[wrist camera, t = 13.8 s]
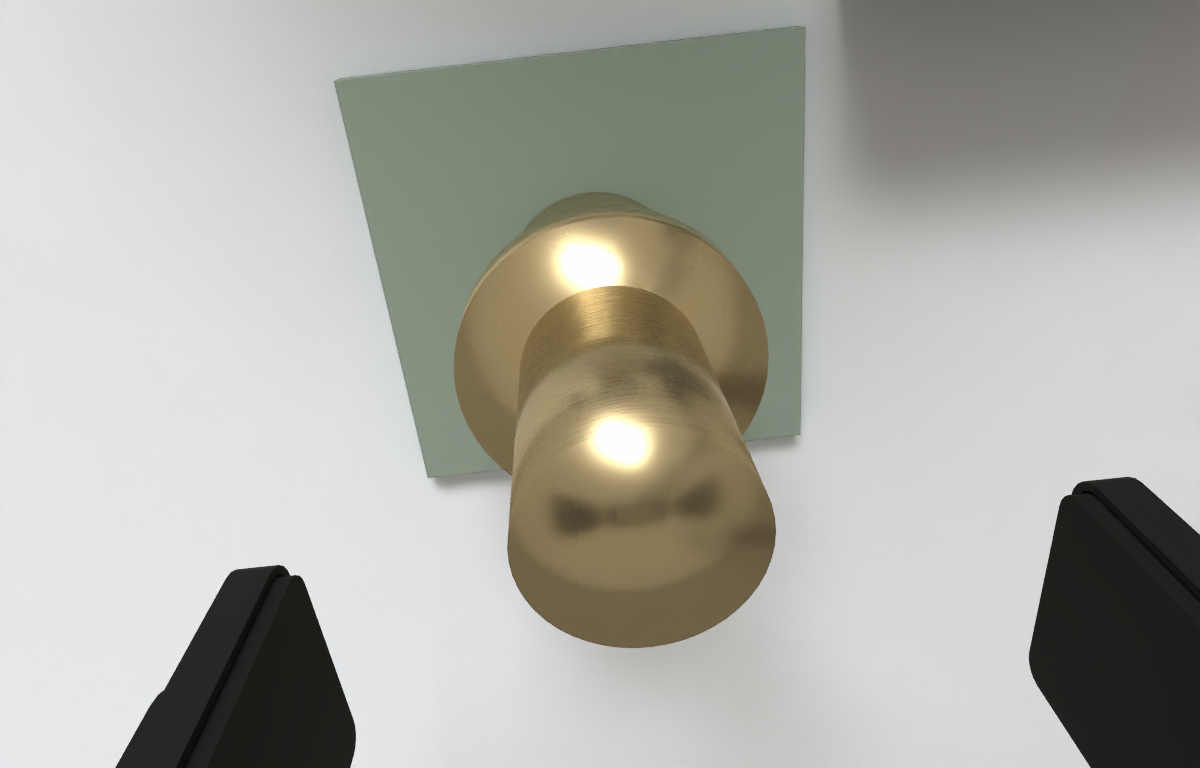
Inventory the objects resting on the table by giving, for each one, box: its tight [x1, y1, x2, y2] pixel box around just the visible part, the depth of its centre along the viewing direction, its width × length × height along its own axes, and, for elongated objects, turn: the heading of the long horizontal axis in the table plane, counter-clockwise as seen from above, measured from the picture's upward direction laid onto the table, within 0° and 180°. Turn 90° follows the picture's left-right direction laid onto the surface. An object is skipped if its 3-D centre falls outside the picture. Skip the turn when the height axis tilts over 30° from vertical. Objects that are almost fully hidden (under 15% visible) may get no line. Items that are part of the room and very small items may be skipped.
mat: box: [334, 26, 805, 478], centre depth 23 cm, size 12×12×1 cm
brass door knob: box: [454, 192, 776, 648], centre depth 17 cm, size 7×7×12 cm
